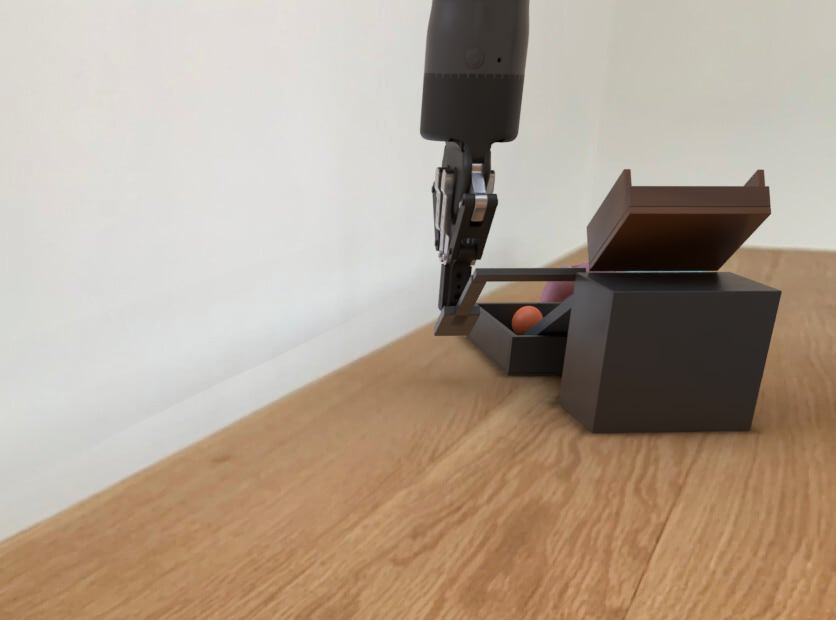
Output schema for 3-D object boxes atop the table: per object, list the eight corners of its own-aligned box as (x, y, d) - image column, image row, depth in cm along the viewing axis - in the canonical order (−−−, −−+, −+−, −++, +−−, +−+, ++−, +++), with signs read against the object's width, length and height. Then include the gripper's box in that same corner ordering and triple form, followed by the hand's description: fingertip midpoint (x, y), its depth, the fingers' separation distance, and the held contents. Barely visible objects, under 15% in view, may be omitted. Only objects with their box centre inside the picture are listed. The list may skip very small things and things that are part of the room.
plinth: (557, 406, 88) (575, 272, 83) (703, 404, 89) (730, 271, 84) (591, 437, 81) (614, 291, 76) (749, 434, 82) (782, 290, 77)
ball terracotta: (545, 300, 107) (550, 324, 106) (534, 322, 110) (538, 346, 109) (515, 298, 106) (520, 322, 105) (505, 320, 109) (509, 344, 108)
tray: (466, 339, 110) (469, 302, 108) (614, 338, 111) (620, 301, 109) (507, 378, 96) (512, 336, 94) (677, 376, 97) (684, 335, 95)
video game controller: (630, 341, 117) (645, 273, 117) (626, 327, 113) (642, 257, 112) (538, 332, 121) (552, 267, 120) (531, 319, 117) (546, 251, 116)
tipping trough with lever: (433, 336, 93) (431, 296, 94) (658, 334, 95) (655, 295, 95) (492, 213, 74) (489, 163, 75) (771, 213, 76) (767, 164, 76)
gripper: (548, 69, 77) (517, 328, 86) (501, 70, 89) (478, 299, 98) (443, 67, 77) (422, 328, 86) (409, 68, 88) (394, 299, 97)
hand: (452, 312), depth 92 cm, fingers closed
